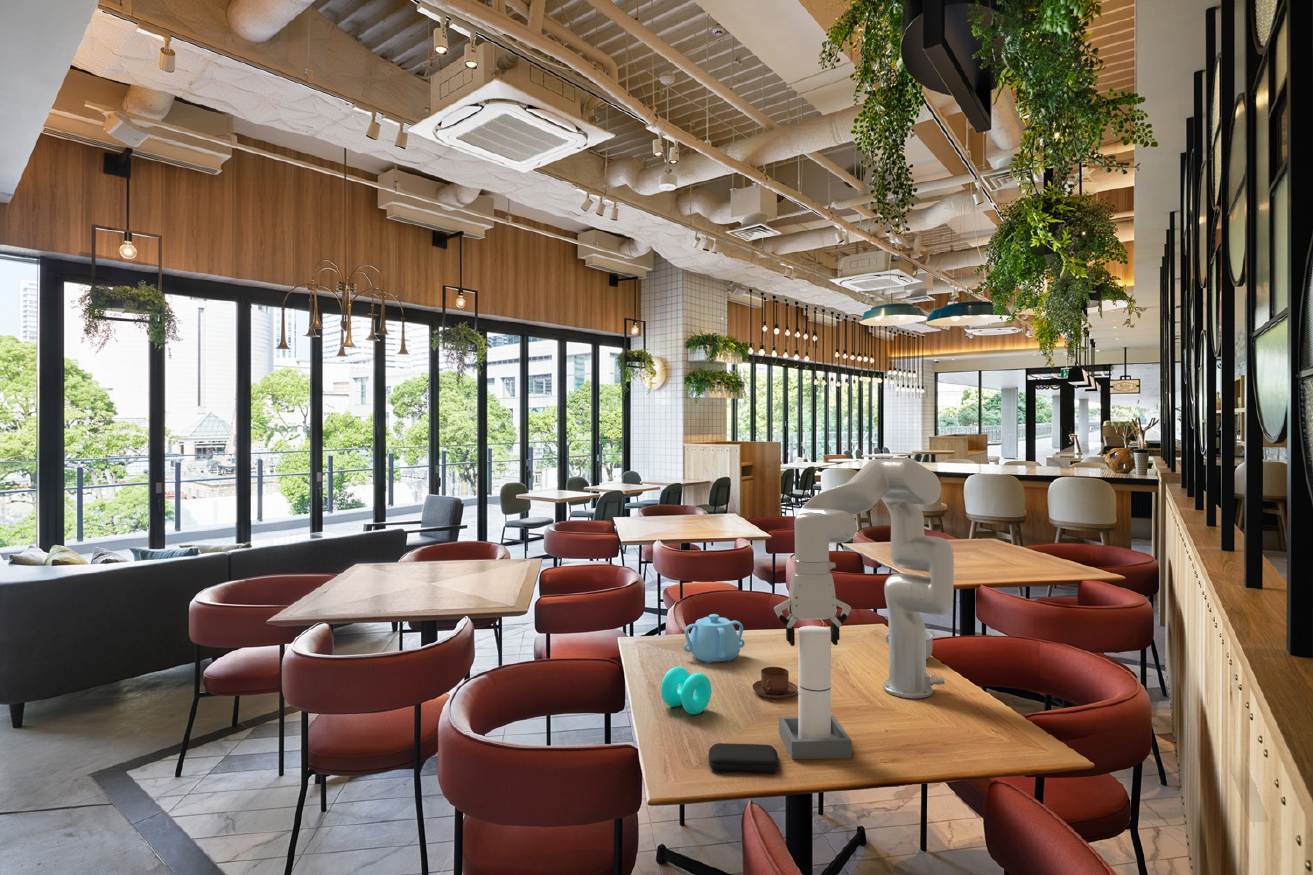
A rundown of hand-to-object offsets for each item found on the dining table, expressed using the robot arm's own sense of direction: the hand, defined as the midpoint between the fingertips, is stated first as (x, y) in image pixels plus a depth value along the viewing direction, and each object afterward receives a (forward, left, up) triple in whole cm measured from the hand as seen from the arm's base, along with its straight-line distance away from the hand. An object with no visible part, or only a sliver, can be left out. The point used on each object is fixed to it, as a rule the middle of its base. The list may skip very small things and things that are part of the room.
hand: (812, 643), depth 155 cm
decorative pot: (+15, -62, -23) cm, 68 cm away
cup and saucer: (+2, -31, -23) cm, 39 cm away
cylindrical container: (0, 0, -22) cm, 22 cm away
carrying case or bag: (+17, +7, -23) cm, 30 cm away
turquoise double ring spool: (+27, -22, -23) cm, 42 cm away
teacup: (-45, -58, -23) cm, 77 cm away
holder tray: (0, 0, -23) cm, 23 cm away
